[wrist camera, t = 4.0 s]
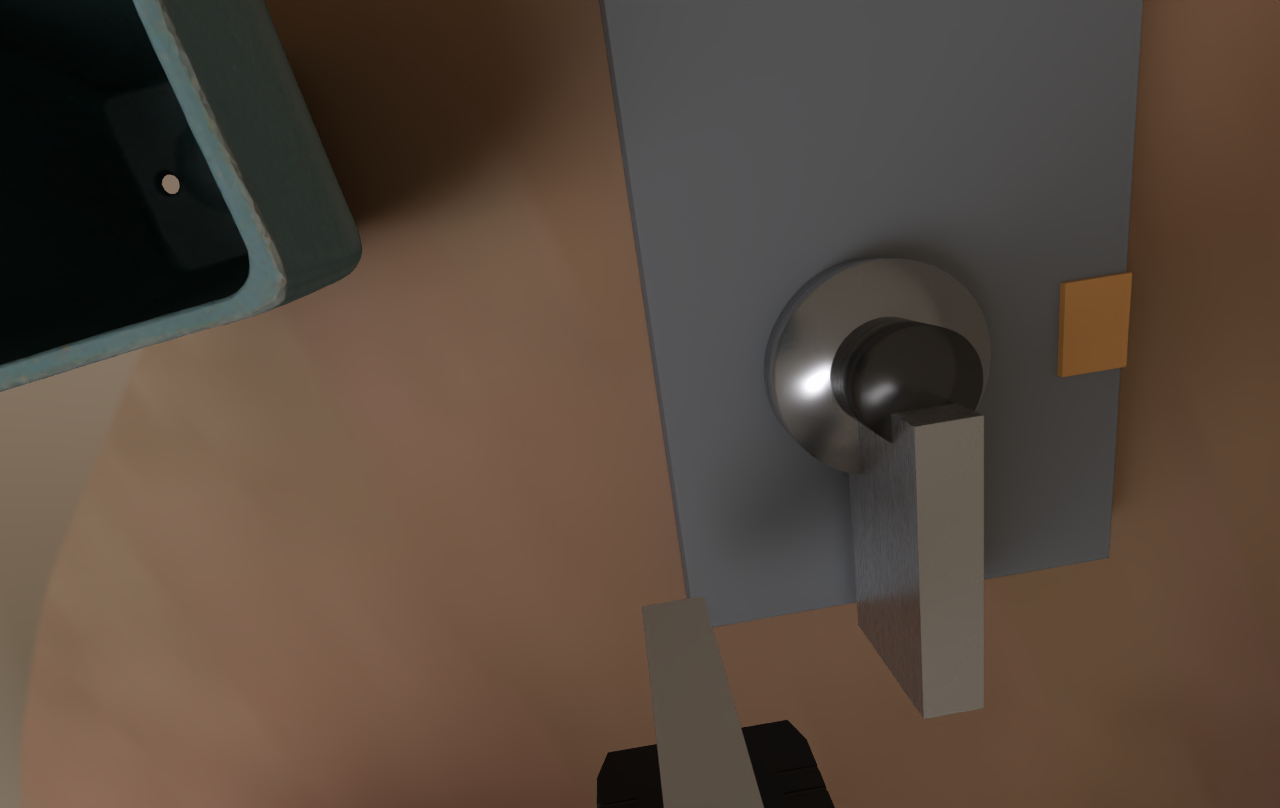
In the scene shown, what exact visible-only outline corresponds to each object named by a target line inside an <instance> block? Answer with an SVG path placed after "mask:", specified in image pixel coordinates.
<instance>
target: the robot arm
mask: <svg viewBox="0 0 1280 808" xmlns="http://www.w3.org/2000/svg"><path fill="white" fill-rule="evenodd" d="M642 612H643V621H644V630H645V639H646V648H647V658H648V667H649V676H650V685H651V694H652V703H653V712H654V722H655V731H656V740H657V744H655V745H649V746H643V747H637V748H632V749H626V750H620V751H614V752H608V754H607V756H606V758H605V761H604V763H603V765H602V768H601V770H600V772H599V775H598V777H597V808H835V807H834V805H833V803H832V800H831V798H830V795H829V793H828V791H827V790H826V786H825V783H824V781H823V778H822V776H821V773H820V771H819V770H818V768H817V764H816V761H815V759H814V756H813V754H812V751H811V749H810V747H809V744H808V742H807V739H806V738H805V737H804V736H803V735H802V734H801V733H800V732H799V731H798V730H797V729H796V728H795V727H794V726H793V725H792V724H791V723H790V722H789V721H788V720H784V721H778V722H772V723H766V724H761V725H755V726H749V727H743V728H741V726H740V723H739V719H738V716H737V712H736V709H735V705H734V702H733V698H732V695H731V691H730V688H729V684H728V681H727V677H726V674H725V670H724V667H723V663H722V660H721V656H720V653H719V649H718V646H717V642H716V639H715V635H714V632H713V628H712V625H711V621H710V618H709V614H708V611H707V607H706V604H705V600H704V597H703V596H701V597H695V598H689V599H683V600H677V601H671V602H665V603H659V604H653V605H647V606H642Z"/></svg>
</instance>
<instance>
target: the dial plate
mask: <svg viewBox="0 0 1280 808" xmlns="http://www.w3.org/2000/svg"><path fill="white" fill-rule="evenodd" d="M599 3H600V9H601V16H602V23H603V30H604V37H605V43H606V50H607V57H608V64H609V71H610V77H611V84H612V91H613V98H614V105H615V111H616V118H617V125H618V132H619V138H620V145H621V152H622V159H623V166H624V172H625V179H626V186H627V193H628V200H629V206H630V213H631V220H632V227H633V234H634V240H635V247H636V254H637V261H638V268H639V274H640V281H641V288H642V295H643V302H644V308H645V315H646V322H647V329H648V336H649V342H650V349H651V356H652V363H653V370H654V376H655V383H656V390H657V397H658V403H659V410H660V417H661V424H662V431H663V437H664V444H665V451H666V458H667V465H668V471H669V478H670V485H671V492H672V499H673V505H674V512H675V519H676V526H677V533H678V539H679V546H680V553H681V560H682V567H683V573H684V580H685V587H686V594H687V598H688V599H689V598H695V597H701V596H703V597H704V600H705V604H706V607H707V611H708V614H709V618H710V621H711V625H712V627H717V626H722V625H728V624H734V623H739V622H745V621H751V620H756V619H762V618H768V617H774V616H779V615H785V614H791V613H796V612H802V611H808V610H813V609H819V608H825V607H831V606H836V605H842V604H848V603H853V602H857V594H856V578H855V562H854V546H853V531H852V515H851V499H850V483H849V473H847V472H843V471H840V470H837V469H834V468H832V467H830V466H828V465H825V464H824V463H822V462H820V461H819V460H817V459H816V458H814V457H813V456H812V455H810V454H809V453H808V452H807V451H806V450H804V449H803V448H802V447H801V446H800V445H799V444H798V443H797V442H796V441H795V440H794V439H793V438H792V437H791V436H790V435H789V434H788V433H787V432H786V430H785V429H784V428H783V427H782V426H781V424H780V423H779V421H778V420H777V418H776V417H775V414H774V412H773V410H772V408H771V406H770V403H769V400H768V397H767V393H766V388H765V382H764V360H765V352H766V348H767V343H768V340H769V337H770V334H771V331H772V329H773V326H774V324H775V322H776V320H777V318H778V317H779V315H780V313H781V312H782V310H783V309H784V307H785V306H786V304H787V303H788V302H789V300H790V299H791V298H792V297H793V296H794V295H795V294H796V292H797V291H799V290H800V289H801V288H802V287H803V286H804V285H805V284H806V283H807V282H809V281H810V280H812V279H813V278H815V277H816V276H817V275H819V274H820V273H822V272H824V271H826V270H828V269H830V268H832V267H834V266H837V265H840V264H842V263H845V262H849V261H853V260H858V259H866V258H892V259H910V260H915V261H920V262H924V263H927V264H930V265H932V266H935V267H937V268H939V269H941V270H943V271H945V272H947V273H948V274H950V275H951V276H953V277H954V278H955V279H957V280H958V281H959V282H960V283H961V284H962V285H963V286H964V287H965V288H966V289H967V290H968V291H969V292H970V294H971V295H972V296H973V298H974V299H975V300H976V302H977V304H978V306H979V308H980V309H981V311H982V313H983V316H984V319H985V321H986V324H987V327H988V332H989V337H990V346H991V362H990V372H989V377H988V382H987V385H986V388H985V391H984V394H983V397H982V399H981V401H980V404H979V406H978V408H977V410H976V411H975V412H977V413H980V414H982V415H984V580H985V579H990V578H996V577H1002V576H1007V575H1013V574H1019V573H1025V572H1030V571H1036V570H1042V569H1047V568H1053V567H1059V566H1064V565H1070V564H1076V563H1082V562H1087V561H1093V560H1099V559H1104V558H1109V550H1110V533H1111V517H1112V500H1113V484H1114V468H1115V451H1116V435H1117V418H1118V402H1119V386H1120V369H1121V367H1126V364H1127V348H1128V333H1129V317H1130V301H1131V285H1132V273H1129V272H1126V271H1127V255H1128V238H1129V222H1130V205H1131V189H1132V173H1133V156H1134V140H1135V123H1136V107H1137V91H1138V74H1139V58H1140V42H1141V25H1142V9H1143V0H599Z"/></svg>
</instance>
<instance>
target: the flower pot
mask: <svg viewBox="0 0 1280 808" xmlns="http://www.w3.org/2000/svg"><path fill="white" fill-rule="evenodd" d="M169 174H171V175H174V176H175V177H176V178H177V179H178V180H179V184H180V188H179V191H178V192H177V193H176V194H169V193H167V192H166V191H165V190H164V188H163V186H162V179H163V178H164V176H166V175H169ZM361 253H362V245H361V239H360V235H359V232H358V229H357V227H356V224H355V221H354V219H353V217H352V214H351V212H350V210H349V207H348V205H347V203H346V200H345V198H344V196H343V193H342V191H341V189H340V186H339V184H338V181H337V179H336V176H335V174H334V172H333V169H332V167H331V164H330V162H329V159H328V157H327V155H326V152H325V150H324V147H323V145H322V142H321V140H320V137H319V135H318V133H317V130H316V128H315V125H314V123H313V120H312V118H311V116H310V113H309V111H308V108H307V106H306V103H305V101H304V98H303V96H302V94H301V91H300V89H299V86H298V84H297V81H296V79H295V76H294V74H293V71H292V69H291V67H290V64H289V62H288V59H287V57H286V54H285V52H284V49H283V47H282V44H281V42H280V39H279V37H278V35H277V32H276V29H275V27H274V24H273V22H272V19H271V17H270V14H269V11H268V9H267V6H266V4H265V1H264V0H0V392H1V391H4V390H8V389H11V388H14V387H17V386H21V385H24V384H27V383H30V382H33V381H36V380H40V379H44V378H47V377H50V376H53V375H56V374H60V373H63V372H66V371H69V370H72V369H75V368H78V367H82V366H85V365H88V364H91V363H95V362H98V361H101V360H104V359H108V358H111V357H114V356H117V355H121V354H124V353H127V352H130V351H133V350H137V349H140V348H143V347H147V346H150V345H154V344H157V343H161V342H164V341H168V340H171V339H175V338H178V337H181V336H184V335H187V334H192V333H195V332H198V331H201V330H204V329H209V328H213V327H216V326H220V325H226V324H229V323H232V322H235V321H239V320H242V319H245V318H248V317H251V316H255V315H258V314H261V313H263V312H266V311H269V310H272V309H274V308H276V307H279V306H282V305H285V304H287V303H290V302H292V301H294V300H297V299H299V298H301V297H304V296H306V295H308V294H311V293H313V292H315V291H317V290H319V289H321V288H323V287H326V286H328V285H330V284H333V283H335V282H337V281H339V280H341V279H342V278H344V277H345V276H347V275H349V274H350V273H351V272H352V271H353V270H354V269H355V268H356V266H357V265H358V263H359V261H360V258H361Z"/></svg>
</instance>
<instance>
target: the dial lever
mask: <svg viewBox="0 0 1280 808" xmlns="http://www.w3.org/2000/svg"><path fill="white" fill-rule="evenodd" d="M990 362H991V346H990V337H989V332H988V327H987V324H986V321H985V319H984V316H983V313H982V311H981V309H980V308H979V306H978V304H977V302H976V300H975V299H974V298H973V296H972V295H971V294H970V292H969V291H968V290H967V289H966V288H965V287H964V286H963V285H962V284H961V283H960V282H959V281H958V280H957V279H955V278H954V277H953V276H951V275H950V274H948V273H947V272H945V271H943V270H941V269H939V268H937V267H935V266H932V265H930V264H927V263H924V262H920V261H915V260H910V259H892V258H866V259H858V260H853V261H849V262H845V263H842V264H840V265H837V266H834V267H832V268H830V269H828V270H826V271H824V272H822V273H820V274H819V275H817V276H816V277H815V278H813V279H812V280H810V281H809V282H807V283H806V284H805V285H804V286H803V287H802V288H801V289H800V290H799V291H797V292H796V294H795V295H794V296H793V297H792V298H791V299H790V300H789V302H788V303H787V304H786V306H785V307H784V309H783V310H782V312H781V313H780V315H779V317H778V318H777V320H776V322H775V324H774V326H773V329H772V331H771V334H770V337H769V340H768V343H767V348H766V352H765V360H764V382H765V388H766V393H767V397H768V400H769V403H770V406H771V408H772V410H773V412H774V414H775V417H776V418H777V420H778V421H779V423H780V424H781V426H782V427H783V428H784V429H785V430H786V432H787V433H788V434H789V435H790V436H791V437H792V438H793V439H794V440H795V441H796V442H797V443H798V444H799V445H800V446H801V447H802V448H803V449H804V450H806V451H807V452H808V453H809V454H810V455H812V456H813V457H814V458H816V459H817V460H819V461H820V462H822V463H824V464H825V465H828V466H830V467H832V468H834V469H837V470H840V471H843V472H847V473H849V483H850V499H851V515H852V531H853V546H854V562H855V578H856V594H857V610H858V625H859V627H860V628H861V630H862V631H863V632H864V634H865V635H866V637H867V638H868V640H869V641H870V643H871V644H872V645H873V647H874V648H875V650H876V651H877V653H878V654H879V655H880V657H881V658H882V660H883V661H884V663H885V664H886V666H887V667H888V668H889V670H890V671H891V673H892V674H893V676H894V677H895V679H896V680H897V681H898V683H899V684H900V686H901V687H902V689H903V690H904V691H905V693H906V694H907V696H908V697H909V699H910V700H911V702H912V703H913V704H914V706H915V707H916V709H917V710H918V712H919V713H920V714H921V716H922V717H923V719H927V718H933V717H938V716H944V715H949V714H955V713H960V712H966V711H971V710H977V709H982V708H984V415H982V414H980V413H977V412H975V411H976V410H977V408H978V406H979V404H980V401H981V399H982V397H983V394H984V391H985V388H986V385H987V382H988V377H989V372H990Z"/></svg>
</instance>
